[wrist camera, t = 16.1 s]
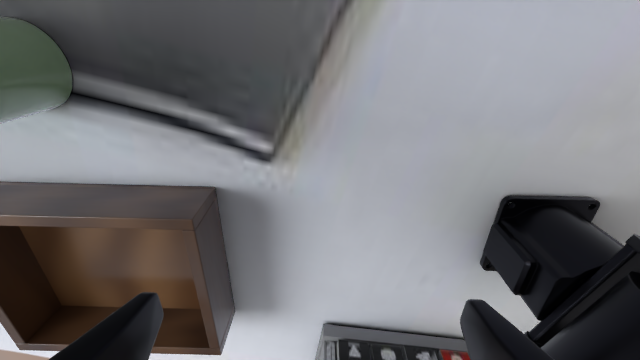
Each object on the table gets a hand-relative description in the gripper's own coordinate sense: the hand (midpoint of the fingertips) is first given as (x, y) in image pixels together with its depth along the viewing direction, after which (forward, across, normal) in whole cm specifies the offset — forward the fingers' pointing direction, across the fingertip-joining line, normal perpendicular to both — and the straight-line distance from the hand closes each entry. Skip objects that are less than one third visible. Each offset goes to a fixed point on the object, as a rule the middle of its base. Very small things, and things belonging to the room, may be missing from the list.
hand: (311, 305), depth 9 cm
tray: (+12, +15, +9) cm, 21 cm away
